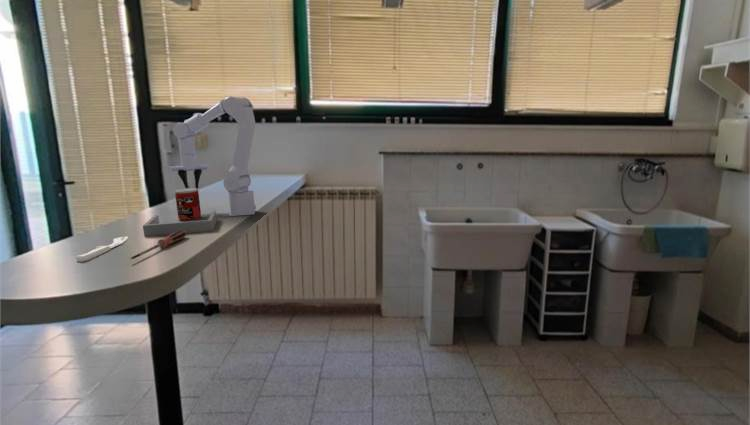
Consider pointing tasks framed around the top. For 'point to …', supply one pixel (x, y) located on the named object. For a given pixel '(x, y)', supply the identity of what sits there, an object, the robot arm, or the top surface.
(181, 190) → the canned food
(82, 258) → the white elongated piece
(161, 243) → the screwdriver
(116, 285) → the top surface
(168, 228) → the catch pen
